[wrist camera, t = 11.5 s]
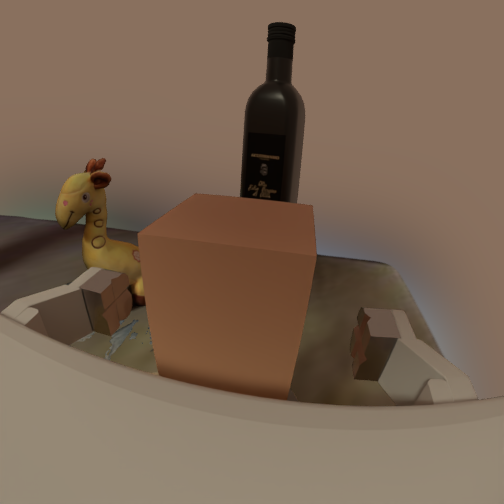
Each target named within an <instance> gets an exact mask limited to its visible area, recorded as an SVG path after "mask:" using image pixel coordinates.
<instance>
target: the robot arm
mask: <svg viewBox="0 0 504 504" xmlns="http://www.w3.org/2000/svg"><path fill="white" fill-rule="evenodd" d="M129 285H130V283H129V278H128V276H127V274H126V273H122V272H117V271H113V270H108V269H103V268H98V267H91V268H90V269H88V270H87V271H86V272H84V273H83V274H82V275H81V276H79V277H78V278H77V279H76V280H74V281H73V282H72V283H71V284H69V285H63V286H60V287H56V288H53V289H50V290H46V291H43V292H40V293H37V294H34V295H30V296H27V297H24V298H21V299H18V300H16V301H14V302H13V303H12V304H11V305H9V306H8V307H7V308H6V309H5V310H3V311H2V312H1V313H0V504H504V396H500V397H494V398H488V399H481V400H478V397H477V395H476V393H475V390H474V388H473V386H472V383H471V381H470V379H469V377H468V376H467V375H466V374H465V373H463V372H462V371H461V370H459V369H458V368H457V367H456V366H454V365H453V364H452V363H450V362H449V361H448V360H447V359H445V358H444V357H443V356H441V355H440V354H439V353H438V352H436V351H435V350H434V349H432V348H431V347H430V346H428V345H427V344H426V343H424V342H423V341H422V340H420V339H416V337H415V334H414V332H413V329H412V327H411V325H410V322H409V320H408V318H407V316H406V313H405V311H403V310H396V309H377V308H362V307H361V309H360V311H359V313H358V316H357V320H358V325H357V326H356V327H355V328H354V329H353V333H352V336H351V343H350V352H351V356H352V357H353V358H354V361H353V364H352V368H353V376H354V379H357V380H370V381H378V383H379V384H380V385H381V387H382V388H383V389H384V390H385V392H386V393H387V394H388V395H389V397H390V398H391V399H392V400H393V402H394V403H395V404H396V405H397V406H348V405H330V404H317V403H306V402H296V401H287V400H279V399H272V398H264V397H258V396H251V395H245V394H240V393H234V392H228V391H223V390H218V389H213V388H208V387H204V386H199V385H195V384H190V383H186V382H182V381H178V380H174V379H170V378H166V377H162V376H158V375H155V374H151V373H148V372H144V371H141V370H137V369H134V368H131V367H128V366H125V365H121V364H118V363H115V362H112V361H109V360H106V359H104V358H101V357H98V356H95V355H92V354H90V353H87V352H84V351H82V350H79V349H77V348H74V347H71V346H69V345H70V344H72V343H74V342H76V341H78V340H79V339H81V338H83V337H85V336H87V335H89V334H91V333H92V332H93V331H94V332H97V333H101V334H105V335H108V336H112V335H113V334H114V332H115V331H116V330H117V329H118V328H119V326H120V321H121V320H124V319H126V318H127V317H128V315H129V314H130V311H131V309H132V295H131V293H130V292H129V291H128V289H127V288H128V286H129Z"/></svg>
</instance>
